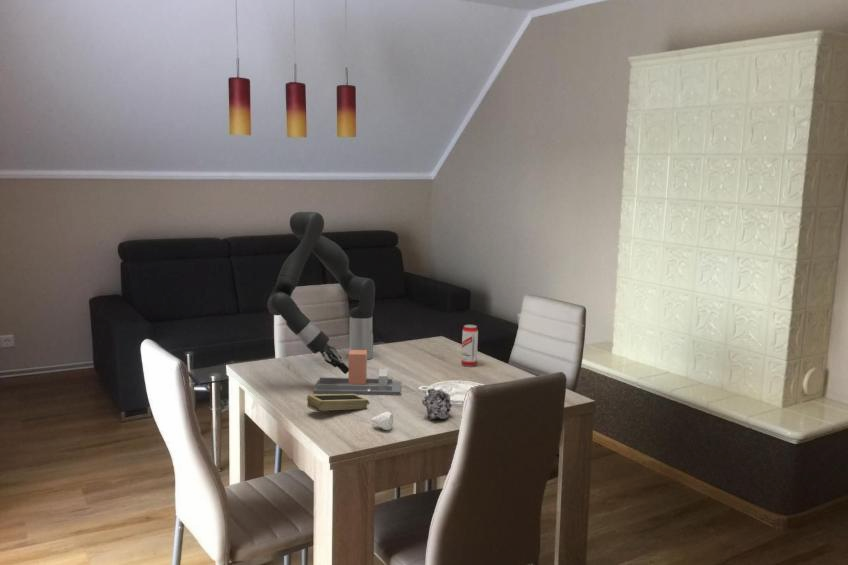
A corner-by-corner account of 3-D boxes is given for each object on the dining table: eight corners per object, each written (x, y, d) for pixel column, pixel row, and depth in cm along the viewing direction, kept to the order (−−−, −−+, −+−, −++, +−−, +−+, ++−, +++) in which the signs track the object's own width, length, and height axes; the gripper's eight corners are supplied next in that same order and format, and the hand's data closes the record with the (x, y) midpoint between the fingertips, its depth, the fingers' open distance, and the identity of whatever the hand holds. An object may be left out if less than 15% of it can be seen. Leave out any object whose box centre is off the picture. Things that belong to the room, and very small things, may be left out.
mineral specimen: (426, 394, 240) (433, 373, 232) (454, 406, 238) (461, 386, 231) (411, 422, 230) (417, 402, 223) (439, 436, 229) (446, 416, 221)
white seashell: (375, 424, 222) (375, 407, 221) (393, 426, 220) (394, 409, 219) (368, 430, 217) (369, 413, 216) (387, 433, 215) (388, 415, 214)
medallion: (483, 412, 237) (483, 405, 236) (406, 400, 246) (406, 394, 245) (500, 391, 258) (501, 385, 258) (430, 381, 267) (430, 375, 267)
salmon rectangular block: (348, 387, 252) (348, 354, 250) (349, 382, 258) (349, 349, 256) (365, 387, 252) (366, 354, 250) (366, 382, 258) (366, 350, 256)
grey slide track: (313, 393, 249) (313, 376, 248) (317, 383, 261) (317, 366, 260) (400, 395, 250) (400, 377, 249) (400, 384, 262) (400, 368, 261)
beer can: (468, 361, 294) (469, 323, 291) (480, 365, 290) (481, 326, 287) (457, 364, 290) (459, 325, 287) (469, 368, 285) (471, 328, 283)
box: (304, 409, 229) (306, 394, 229) (360, 406, 244) (362, 392, 244) (318, 417, 223) (320, 401, 223) (374, 414, 238) (377, 399, 238)
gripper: (318, 334, 245) (353, 370, 248) (322, 325, 258) (356, 359, 261) (302, 349, 246) (338, 384, 248) (307, 339, 259) (341, 373, 261)
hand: (347, 371), depth 254 cm, fingers closed
